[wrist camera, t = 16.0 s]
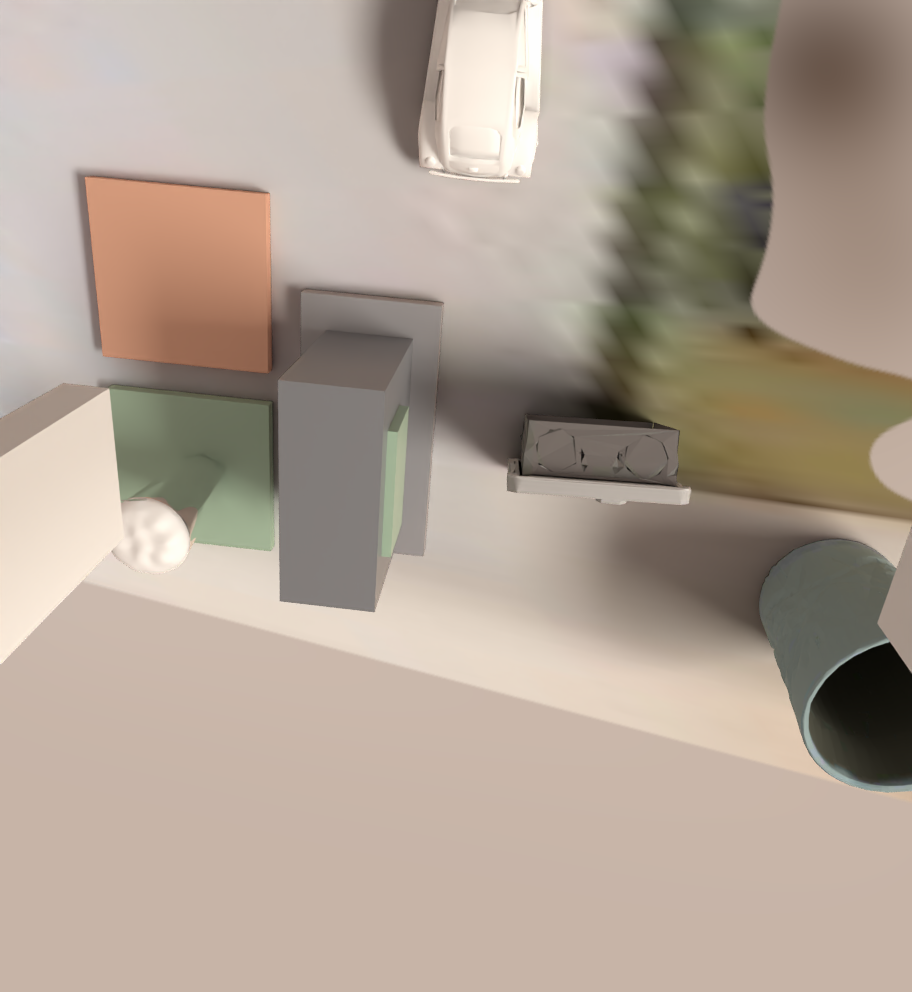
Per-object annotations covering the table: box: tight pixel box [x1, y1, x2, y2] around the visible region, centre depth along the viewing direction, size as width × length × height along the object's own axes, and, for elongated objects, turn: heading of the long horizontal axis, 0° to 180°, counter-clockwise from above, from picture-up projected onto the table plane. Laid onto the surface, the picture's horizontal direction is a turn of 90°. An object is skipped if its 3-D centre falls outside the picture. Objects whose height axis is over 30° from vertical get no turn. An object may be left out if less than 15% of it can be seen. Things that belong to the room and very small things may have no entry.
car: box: [418, 0, 543, 183], centre depth 40 cm, size 12×6×5 cm, turn 175°
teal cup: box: [759, 539, 912, 792], centre depth 47 cm, size 10×10×12 cm
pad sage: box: [108, 385, 274, 551], centre depth 52 cm, size 10×10×1 cm
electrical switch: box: [507, 414, 691, 505], centre depth 45 cm, size 9×5×9 cm, turn 87°
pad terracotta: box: [85, 176, 272, 373], centre depth 47 cm, size 10×10×1 cm
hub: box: [278, 289, 444, 612], centre depth 45 cm, size 16×8×11 cm, turn 175°
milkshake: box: [112, 455, 226, 574], centre depth 47 cm, size 4×5×10 cm
